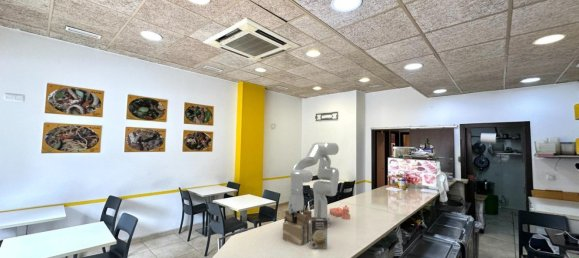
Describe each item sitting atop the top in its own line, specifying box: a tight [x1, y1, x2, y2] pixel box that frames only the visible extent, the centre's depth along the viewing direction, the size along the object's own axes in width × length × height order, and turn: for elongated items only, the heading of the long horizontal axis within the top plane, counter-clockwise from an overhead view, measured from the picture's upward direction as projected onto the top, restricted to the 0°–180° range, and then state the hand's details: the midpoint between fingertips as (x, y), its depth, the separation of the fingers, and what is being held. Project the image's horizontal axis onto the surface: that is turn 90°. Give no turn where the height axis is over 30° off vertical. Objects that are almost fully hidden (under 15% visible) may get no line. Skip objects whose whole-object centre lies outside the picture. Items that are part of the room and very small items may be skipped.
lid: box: [286, 209, 313, 229], centre depth 152 cm, size 17×13×6 cm
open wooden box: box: [282, 216, 310, 247], centre depth 152 cm, size 20×15×13 cm
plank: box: [284, 210, 308, 227], centre depth 148 cm, size 3×16×6 cm, turn 49°
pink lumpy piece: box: [329, 205, 351, 220], centre depth 197 cm, size 18×10×10 cm, turn 27°
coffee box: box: [309, 216, 329, 250], centre depth 139 cm, size 9×6×16 cm
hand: (296, 221), depth 148 cm, fingers closed on plank, 2 cm apart
